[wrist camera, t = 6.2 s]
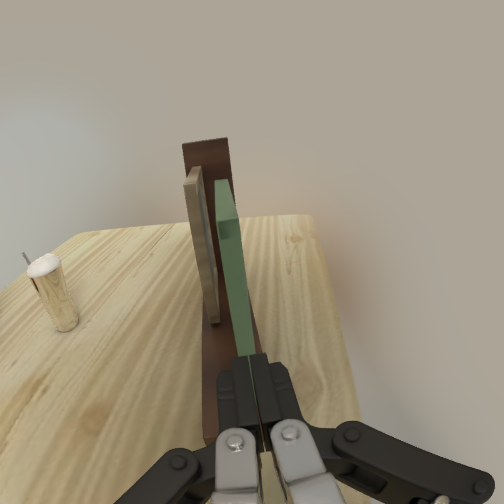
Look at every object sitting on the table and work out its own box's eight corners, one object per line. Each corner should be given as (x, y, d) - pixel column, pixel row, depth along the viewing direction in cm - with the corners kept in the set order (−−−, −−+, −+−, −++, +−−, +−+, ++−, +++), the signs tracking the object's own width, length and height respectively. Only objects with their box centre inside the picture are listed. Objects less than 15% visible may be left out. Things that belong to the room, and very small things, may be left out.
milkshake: (60, 313, 33) (33, 244, 29) (89, 315, 33) (62, 241, 29) (42, 333, 29) (11, 261, 25) (72, 337, 29) (38, 258, 25)
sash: (262, 405, 18) (238, 217, 13) (247, 407, 18) (215, 220, 13) (246, 320, 27) (227, 178, 22) (235, 321, 27) (214, 180, 22)
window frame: (280, 438, 17) (257, 157, 10) (207, 447, 17) (118, 180, 10) (243, 274, 39) (227, 137, 32) (205, 280, 39) (182, 143, 32)
